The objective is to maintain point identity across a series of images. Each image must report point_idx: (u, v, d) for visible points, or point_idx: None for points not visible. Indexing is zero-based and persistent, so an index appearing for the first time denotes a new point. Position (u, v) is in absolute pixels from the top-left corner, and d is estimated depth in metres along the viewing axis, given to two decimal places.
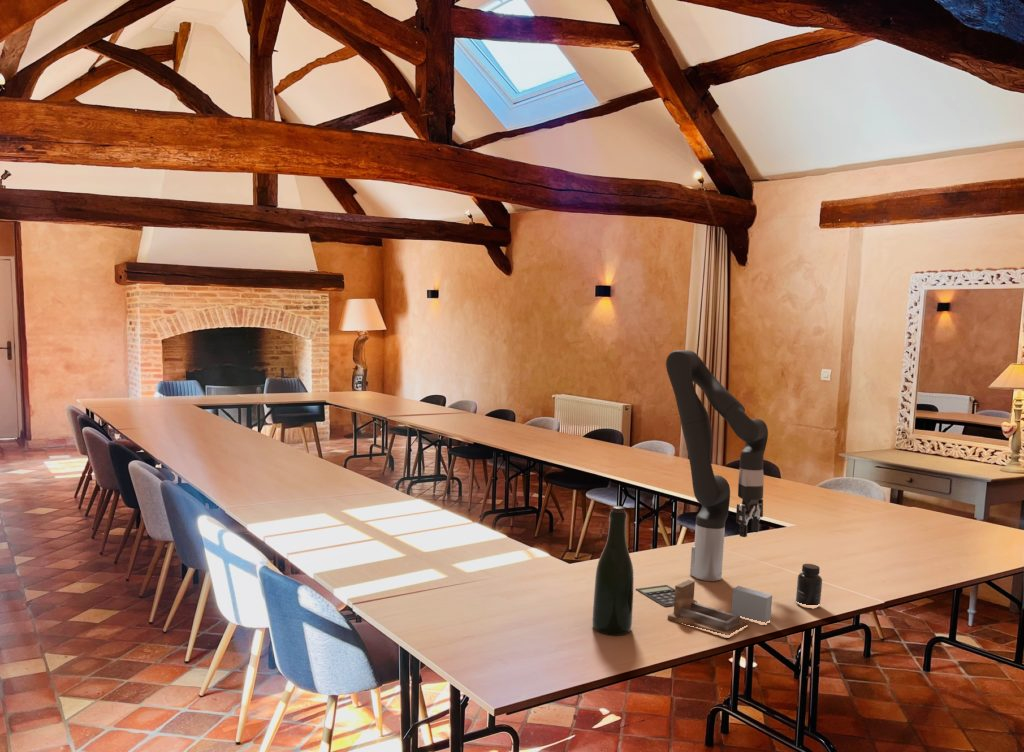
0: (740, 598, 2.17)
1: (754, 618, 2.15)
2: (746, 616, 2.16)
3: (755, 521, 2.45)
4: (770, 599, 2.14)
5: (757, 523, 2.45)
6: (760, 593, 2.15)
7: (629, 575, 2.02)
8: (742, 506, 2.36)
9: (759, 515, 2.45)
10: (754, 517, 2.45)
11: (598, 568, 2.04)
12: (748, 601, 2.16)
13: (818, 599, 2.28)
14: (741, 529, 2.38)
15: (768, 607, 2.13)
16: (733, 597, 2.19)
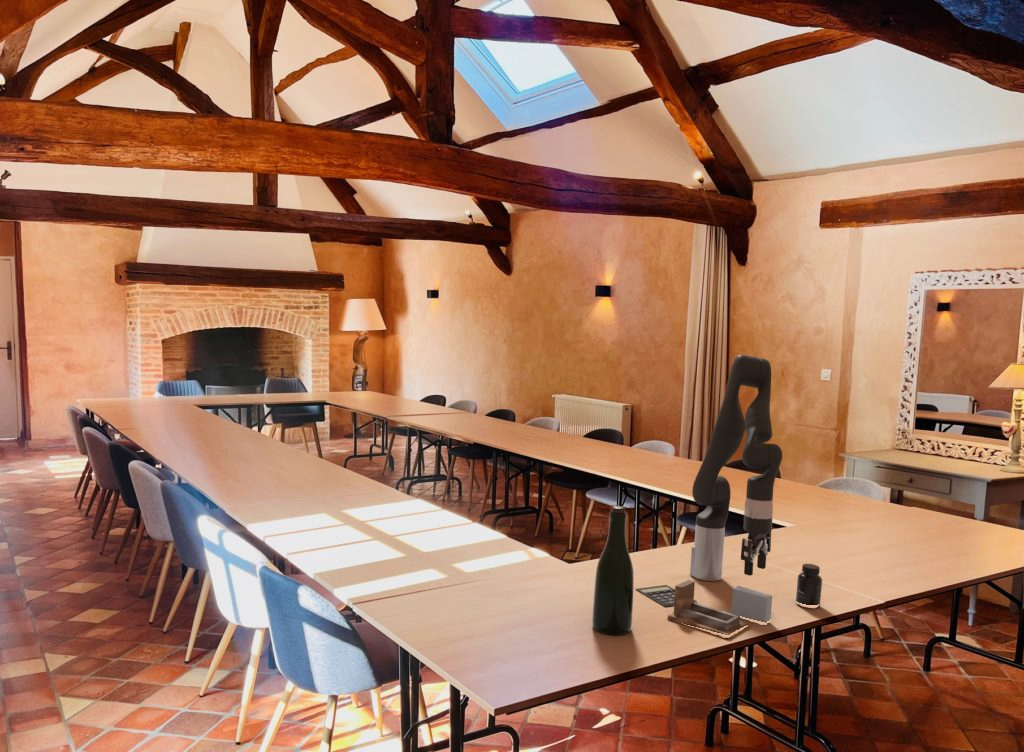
0: (740, 598, 2.17)
1: (754, 618, 2.15)
2: (746, 616, 2.16)
3: (762, 556, 2.19)
4: (770, 599, 2.14)
5: (764, 559, 2.18)
6: (760, 593, 2.15)
7: (629, 575, 2.02)
8: (748, 541, 2.10)
9: (766, 550, 2.18)
10: (761, 552, 2.19)
11: (598, 568, 2.04)
12: (748, 601, 2.16)
13: (818, 599, 2.28)
14: (746, 566, 2.12)
15: (768, 607, 2.13)
16: (733, 597, 2.19)
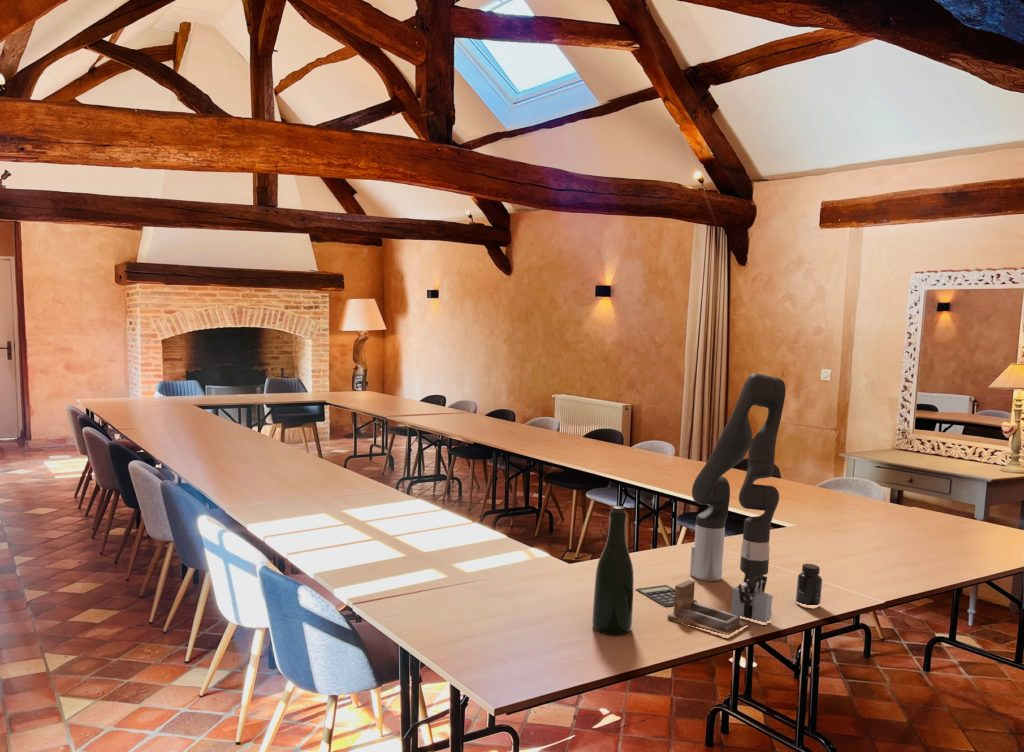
0: None
1: (754, 618, 2.14)
2: None
3: None
4: (770, 599, 2.14)
5: None
6: (760, 593, 2.15)
7: (629, 575, 2.02)
8: (744, 588, 2.11)
9: None
10: None
11: (598, 568, 2.04)
12: None
13: (818, 599, 2.28)
14: (746, 609, 2.15)
15: (768, 607, 2.13)
16: (733, 597, 2.19)
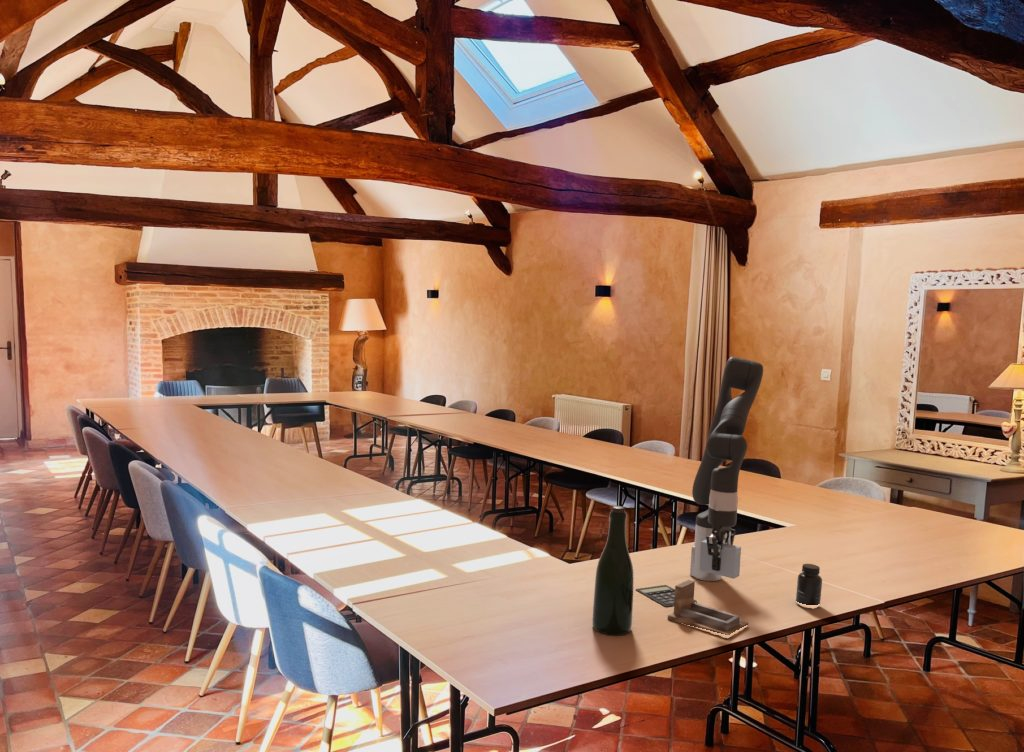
0: None
1: (723, 571, 2.09)
2: None
3: None
4: (739, 551, 2.09)
5: None
6: (728, 545, 2.10)
7: (629, 575, 2.02)
8: (712, 540, 2.06)
9: None
10: None
11: (598, 568, 2.04)
12: None
13: (818, 599, 2.28)
14: (714, 562, 2.09)
15: (737, 559, 2.08)
16: (701, 550, 2.13)
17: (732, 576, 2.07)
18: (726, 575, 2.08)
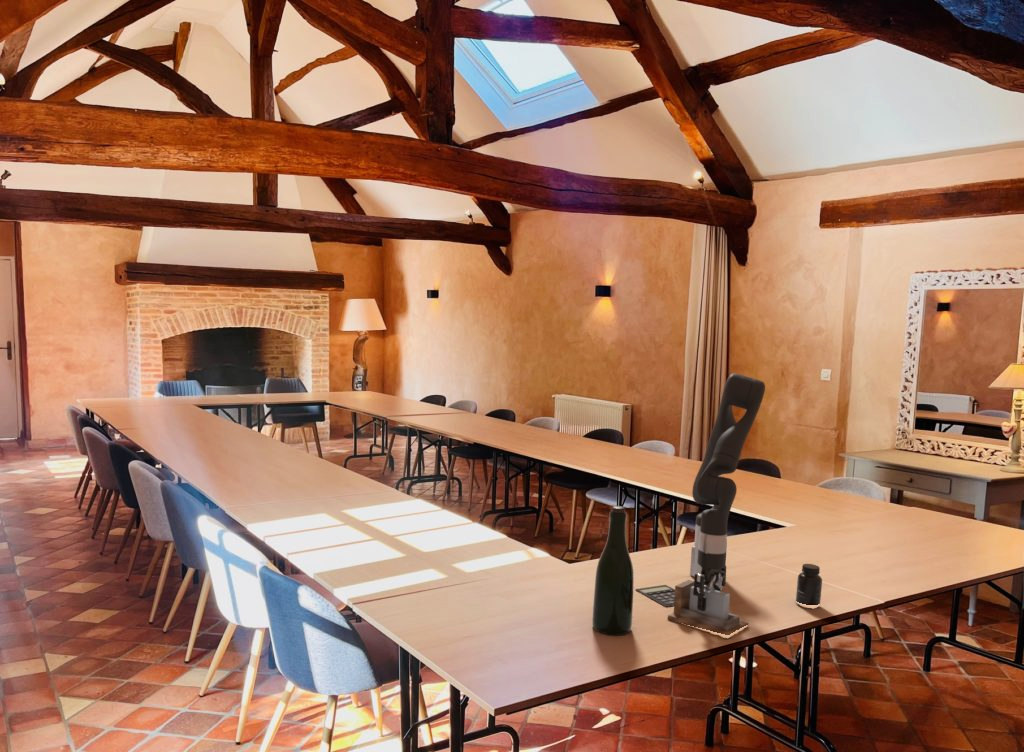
0: None
1: None
2: None
3: None
4: (728, 598, 2.10)
5: None
6: (717, 592, 2.11)
7: (629, 575, 2.02)
8: (700, 577, 2.06)
9: (721, 584, 2.15)
10: (715, 586, 2.15)
11: (598, 568, 2.04)
12: None
13: (818, 599, 2.28)
14: (699, 602, 2.09)
15: (725, 606, 2.09)
16: (691, 596, 2.14)
17: None
18: None
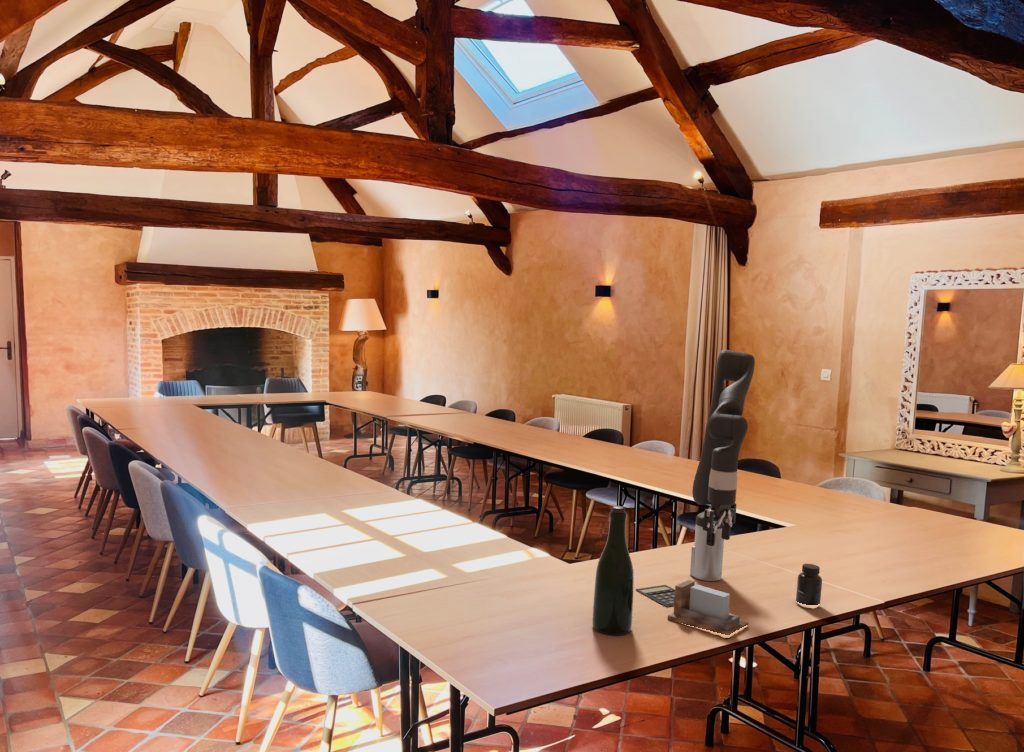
0: (698, 597, 2.13)
1: None
2: None
3: (726, 528, 2.19)
4: (728, 598, 2.10)
5: (728, 530, 2.18)
6: (717, 592, 2.11)
7: (629, 575, 2.02)
8: (710, 512, 2.10)
9: (731, 521, 2.18)
10: (725, 523, 2.19)
11: (598, 568, 2.04)
12: (705, 600, 2.11)
13: (818, 599, 2.28)
14: (708, 537, 2.12)
15: (725, 606, 2.09)
16: (691, 596, 2.14)
17: None
18: None
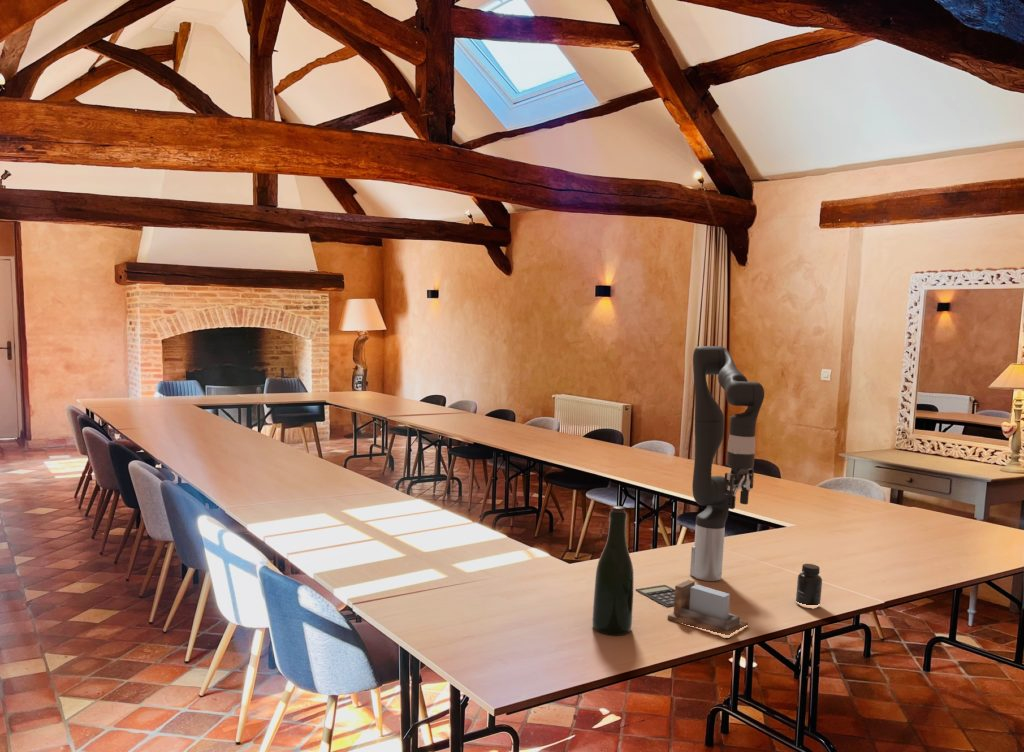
0: (698, 597, 2.13)
1: None
2: None
3: (744, 492, 2.26)
4: (728, 598, 2.10)
5: (746, 495, 2.25)
6: (717, 592, 2.11)
7: (629, 575, 2.02)
8: (730, 475, 2.17)
9: (749, 486, 2.25)
10: (743, 488, 2.26)
11: (598, 568, 2.04)
12: (705, 600, 2.11)
13: (818, 599, 2.28)
14: (729, 500, 2.19)
15: (725, 606, 2.09)
16: (691, 596, 2.14)
17: None
18: None
